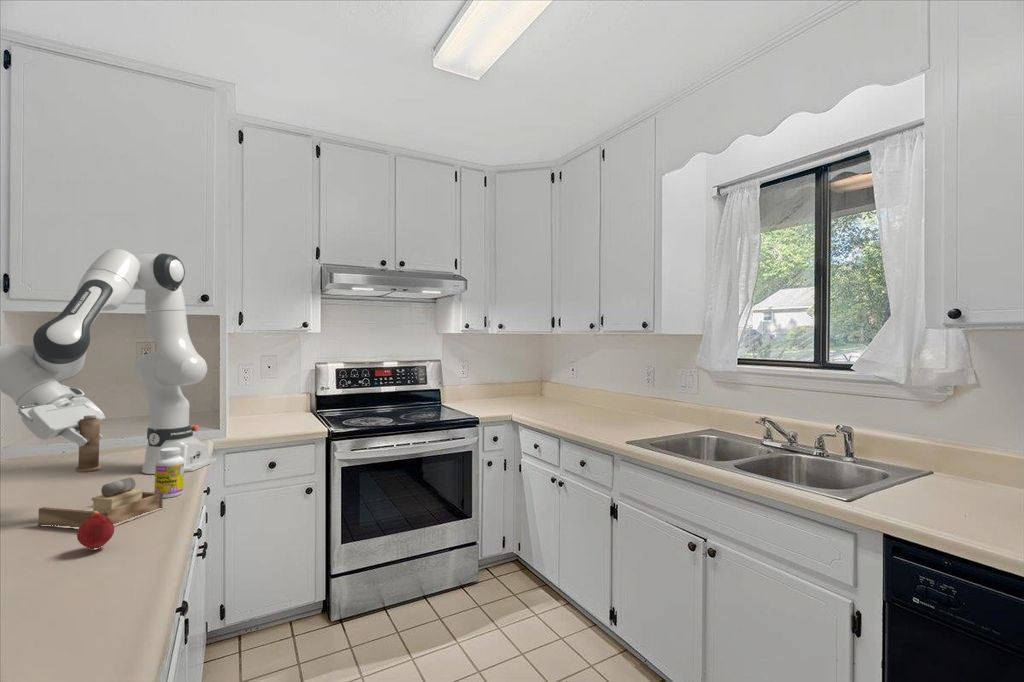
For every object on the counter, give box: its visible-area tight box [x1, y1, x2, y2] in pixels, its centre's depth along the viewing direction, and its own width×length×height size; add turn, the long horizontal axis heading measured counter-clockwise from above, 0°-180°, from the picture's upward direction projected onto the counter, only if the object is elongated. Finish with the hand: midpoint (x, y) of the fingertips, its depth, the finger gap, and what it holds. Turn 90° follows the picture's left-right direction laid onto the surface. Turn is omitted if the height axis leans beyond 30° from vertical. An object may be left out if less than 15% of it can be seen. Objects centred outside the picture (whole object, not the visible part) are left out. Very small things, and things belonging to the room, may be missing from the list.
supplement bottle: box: [153, 447, 185, 499], centre depth 140 cm, size 7×7×13 cm
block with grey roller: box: [91, 477, 145, 512], centre depth 121 cm, size 8×5×9 cm, turn 171°
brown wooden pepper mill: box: [75, 415, 102, 474], centre depth 123 cm, size 5×5×13 cm
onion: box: [76, 511, 115, 550], centre depth 103 cm, size 6×6×8 cm
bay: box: [37, 491, 164, 527], centre depth 122 cm, size 16×17×4 cm
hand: (92, 441), depth 123 cm, fingers closed on brown wooden pepper mill, 4 cm apart
